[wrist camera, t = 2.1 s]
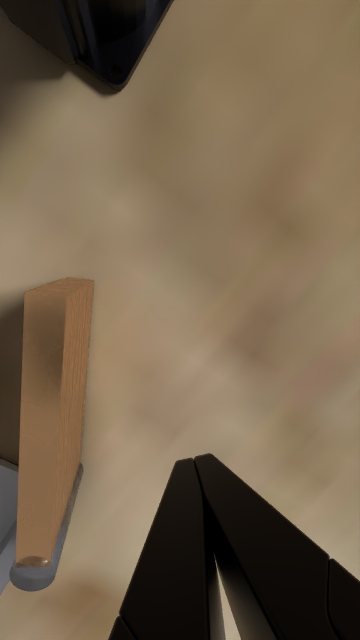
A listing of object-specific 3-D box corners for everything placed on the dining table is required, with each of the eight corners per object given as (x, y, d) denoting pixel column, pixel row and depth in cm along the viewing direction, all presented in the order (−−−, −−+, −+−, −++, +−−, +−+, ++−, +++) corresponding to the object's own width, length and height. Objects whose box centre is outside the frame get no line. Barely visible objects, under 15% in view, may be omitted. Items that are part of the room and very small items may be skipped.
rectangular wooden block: (82, 483, 17) (54, 590, 11) (51, 482, 17) (8, 591, 11) (98, 281, 15) (73, 297, 9) (63, 276, 14) (17, 291, 9)
